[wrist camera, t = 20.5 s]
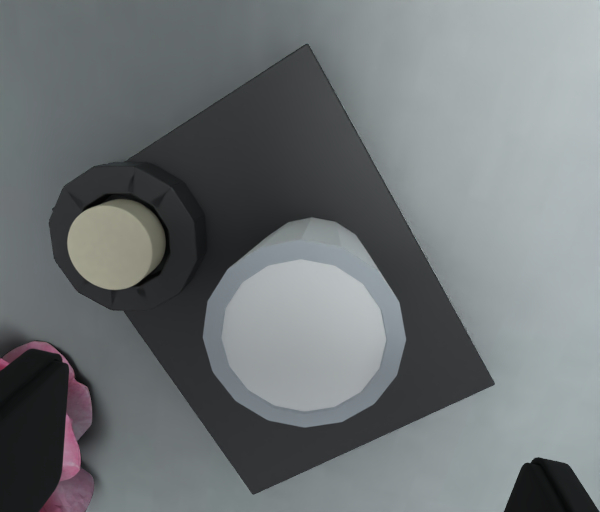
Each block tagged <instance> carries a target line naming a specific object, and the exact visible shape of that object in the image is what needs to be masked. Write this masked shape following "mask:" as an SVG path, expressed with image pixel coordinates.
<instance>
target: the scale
mask: <svg viewBox="0 0 600 512" xmlns="http://www.w3.org/2000/svg"><path fill="white" fill-rule="evenodd" d="M115 199H128V200H133V201H136V202H139V203H141V204H143V205H144V206H146V207H147V208H149V209H150V210H151V211H152V212H153V213H154V214H155V215H156V216H157V218H158V219H159V221H160V223H161V224H162V227H163V229H164V232H165V237H166V248H165V253H164V256H163V259H162V260H161V262H160V264H159V265H158V266H157V267H156V268H155V269H154V270H153V271H152V272H151V273H149V274H148V275H147V276H146V277H145V278H143V279H142V280H141V281H140V282H138V283H137V284H135V285H134V286H132V287H129V288H126V289H121V290H109V289H104V288H101V287H98V286H96V285H94V284H92V283H90V282H89V281H87V280H86V279H85V278H84V277H83V276H82V275H81V274H80V273H79V272H78V271H77V270H76V268H75V267H74V265H73V263H72V261H71V259H70V256H69V252H68V245H67V240H68V233H69V230H70V227H71V225H72V223H73V222H74V220H75V219H76V218H77V217H78V216H79V215H80V214H81V213H82V212H84V211H85V210H87V209H89V208H92V207H94V206H97V205H100V204H103V203H105V202H108V201H111V200H115ZM52 210H53V213H52V215H51V217H50V220H49V221H50V222H49V227H50V234H51V241H52V248H53V254H54V259H55V261H56V263H57V264H58V266H59V267H60V268H61V270H62V271H63V273H64V274H65V275H66V277H67V278H68V280H69V281H70V282H71V284H72V285H73V286H74V288H75V289H76V291H78V292H79V293H80V294H82V295H84V296H86V297H88V298H90V299H92V300H93V301H95V302H97V303H99V304H101V305H103V306H105V307H106V308H108V309H110V310H120V311H124V312H125V314H126V315H127V317H128V318H129V319H130V321H131V322H132V324H133V325H134V327H135V328H136V329H137V331H138V332H139V334H140V335H141V336H142V338H143V339H144V341H145V342H146V344H147V345H148V346H149V348H150V349H151V351H152V352H153V354H154V355H155V356H156V358H157V359H158V361H159V362H160V363H161V365H162V366H163V368H164V369H165V371H166V372H167V373H168V375H169V376H170V378H171V379H172V380H173V382H174V383H175V385H176V386H177V388H178V389H179V390H180V392H181V393H182V395H183V396H184V397H185V399H186V400H187V402H188V403H189V405H190V406H191V407H192V409H193V410H194V412H195V413H196V415H197V416H198V417H199V419H200V420H201V422H202V423H203V424H204V426H205V427H206V429H207V430H208V432H209V433H210V434H211V436H212V437H213V439H214V440H215V441H216V443H217V444H218V446H219V447H220V449H221V450H222V451H223V453H224V454H225V456H226V457H227V459H228V460H229V461H230V463H231V464H232V466H233V467H234V468H235V470H236V471H237V473H238V474H239V476H240V477H241V478H242V480H243V481H244V483H245V484H246V485H247V487H248V488H249V490H250V491H251V493H252V494H253V495H254V494H256V493H258V492H261V491H263V490H265V489H267V488H269V487H272V486H274V485H276V484H278V483H280V482H283V481H285V480H287V479H289V478H291V477H293V476H296V475H298V474H300V473H302V472H304V471H307V470H309V469H311V468H313V467H315V466H318V465H320V464H322V463H324V462H326V461H329V460H331V459H333V458H335V457H337V456H339V455H342V454H344V453H346V452H348V451H350V450H353V449H355V448H357V447H359V446H361V445H364V444H366V443H368V442H370V441H372V440H375V439H377V438H379V437H381V436H383V435H385V434H388V433H390V432H392V431H394V430H396V429H399V428H401V427H403V426H405V425H407V424H410V423H412V422H414V421H416V420H418V419H421V418H423V417H425V416H427V415H429V414H431V413H434V412H436V411H438V410H440V409H442V408H445V407H447V406H449V405H451V404H453V403H456V402H458V401H460V400H462V399H464V398H467V397H469V396H471V395H473V394H475V393H477V392H480V391H482V390H484V389H486V388H488V387H491V386H493V385H494V384H495V383H494V381H493V379H492V377H491V376H490V374H489V372H488V370H487V368H486V366H485V365H484V363H483V361H482V359H481V357H480V356H479V354H478V352H477V350H476V348H475V346H474V345H473V343H472V341H471V339H470V337H469V336H468V334H467V332H466V330H465V328H464V326H463V325H462V323H461V321H460V319H459V317H458V316H457V314H456V312H455V310H454V308H453V306H452V305H451V303H450V301H449V299H448V297H447V296H446V294H445V292H444V290H443V288H442V286H441V285H440V283H439V281H438V279H437V277H436V275H435V274H434V272H433V270H432V268H431V266H430V265H429V263H428V261H427V259H426V257H425V255H424V254H423V252H422V250H421V248H420V246H419V245H418V243H417V241H416V239H415V237H414V235H413V234H412V232H411V230H410V228H409V226H408V225H407V223H406V221H405V219H404V217H403V215H402V214H401V212H400V210H399V208H398V206H397V205H396V203H395V201H394V199H393V197H392V195H391V194H390V192H389V190H388V188H387V186H386V185H385V183H384V181H383V179H382V177H381V175H380V174H379V172H378V170H377V168H376V166H375V164H374V163H373V161H372V159H371V157H370V155H369V154H368V152H367V150H366V148H365V146H364V144H363V143H362V141H361V139H360V137H359V135H358V134H357V132H356V130H355V128H354V126H353V124H352V123H351V121H350V119H349V117H348V115H347V114H346V112H345V110H344V108H343V106H342V104H341V103H340V101H339V99H338V97H337V95H336V94H335V92H334V90H333V88H332V86H331V84H330V83H329V81H328V79H327V77H326V75H325V74H324V72H323V70H322V68H321V66H320V64H319V63H318V61H317V59H316V57H315V55H314V53H313V52H312V50H311V48H310V46H309V44H305V45H304V46H302V47H301V48H299V49H298V50H296V51H295V52H293V53H291V54H290V55H288V56H287V57H285V58H284V59H282V60H281V61H279V62H278V63H276V64H275V65H273V66H271V67H270V68H268V69H267V70H265V71H264V72H262V73H261V74H259V75H258V76H256V77H254V78H253V79H251V80H250V81H248V82H247V83H245V84H244V85H242V86H241V87H239V88H237V89H236V90H234V91H233V92H231V93H230V94H228V95H227V96H225V97H224V98H222V99H221V100H219V101H217V102H216V103H214V104H213V105H211V106H210V107H208V108H207V109H205V110H204V111H202V112H200V113H199V114H197V115H196V116H194V117H193V118H191V119H190V120H188V121H187V122H185V123H184V124H182V125H180V126H179V127H177V128H176V129H174V130H173V131H171V132H170V133H168V134H167V135H165V136H163V137H162V138H160V139H159V140H157V141H156V142H154V143H153V144H151V145H150V146H148V147H147V148H145V149H143V150H142V151H140V152H139V153H137V154H136V155H134V156H133V157H131V158H130V159H128V160H126V161H125V162H113V163H108V164H103V165H98V166H94V167H92V168H91V169H89V170H88V171H86V172H85V173H83V174H82V175H80V176H79V177H77V178H75V179H74V180H72V181H71V182H69V183H68V184H66V185H65V186H64V188H63V189H62V191H61V193H60V196H59V198H58V201H57V203H56V205H55V207H54V208H53V209H52ZM311 217H313V218H318V219H323V220H328V221H334V222H337V223H338V224H340V225H341V226H343V227H344V228H346V229H347V230H349V231H351V232H352V233H354V234H355V235H356V236H357V237H358V239H359V240H360V242H361V243H362V245H363V246H364V248H365V249H366V251H367V252H368V254H369V255H370V257H371V258H372V260H373V261H374V263H375V265H376V266H377V268H378V269H379V271H380V272H381V274H382V276H383V277H384V279H385V280H386V282H387V284H388V285H389V287H390V288H391V290H392V291H393V293H394V295H395V296H396V298H397V299H398V301H399V303H400V308H401V314H402V319H403V325H404V331H405V336H406V342H405V346H404V350H403V354H402V358H401V362H400V366H399V369H398V373H397V376H396V377H395V378H394V380H393V381H392V382H391V383H390V385H389V386H388V387H387V389H386V390H385V391H384V392H383V394H382V395H381V396H380V397H379V399H378V400H377V401H376V402H375V404H373V405H372V406H370V407H368V408H366V409H364V410H363V411H361V412H359V413H357V414H355V415H354V416H352V417H350V418H348V419H346V420H345V421H343V422H339V423H332V424H326V425H319V426H312V427H306V428H304V427H299V426H294V425H289V424H284V423H279V422H274V421H269V420H266V419H265V418H263V417H261V416H260V415H258V414H256V413H255V412H253V411H251V410H250V409H248V408H246V407H245V406H243V405H241V404H240V403H238V402H236V401H235V400H234V398H233V397H232V396H231V395H230V393H229V392H228V391H227V390H226V388H225V387H224V386H223V384H222V383H221V382H220V381H219V379H218V378H217V377H216V376H215V374H214V373H213V371H212V368H211V364H210V361H209V357H208V354H207V350H206V347H205V344H204V340H203V331H204V324H205V316H206V309H207V302H208V300H209V298H210V297H211V295H212V293H213V292H214V290H215V289H216V287H217V285H218V284H219V282H220V281H221V279H222V277H223V276H224V274H225V273H226V271H227V269H229V268H230V267H231V266H232V265H233V264H235V263H236V262H237V261H238V260H240V259H241V258H242V257H243V256H244V255H246V254H247V253H248V252H249V251H250V250H252V249H253V248H254V247H255V246H257V245H258V244H259V243H260V242H261V241H263V240H264V239H265V238H266V237H267V236H269V235H270V234H272V233H273V232H275V231H276V230H277V229H279V228H280V227H282V226H283V225H285V224H286V223H288V222H291V221H296V220H301V219H306V218H311Z"/></svg>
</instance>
